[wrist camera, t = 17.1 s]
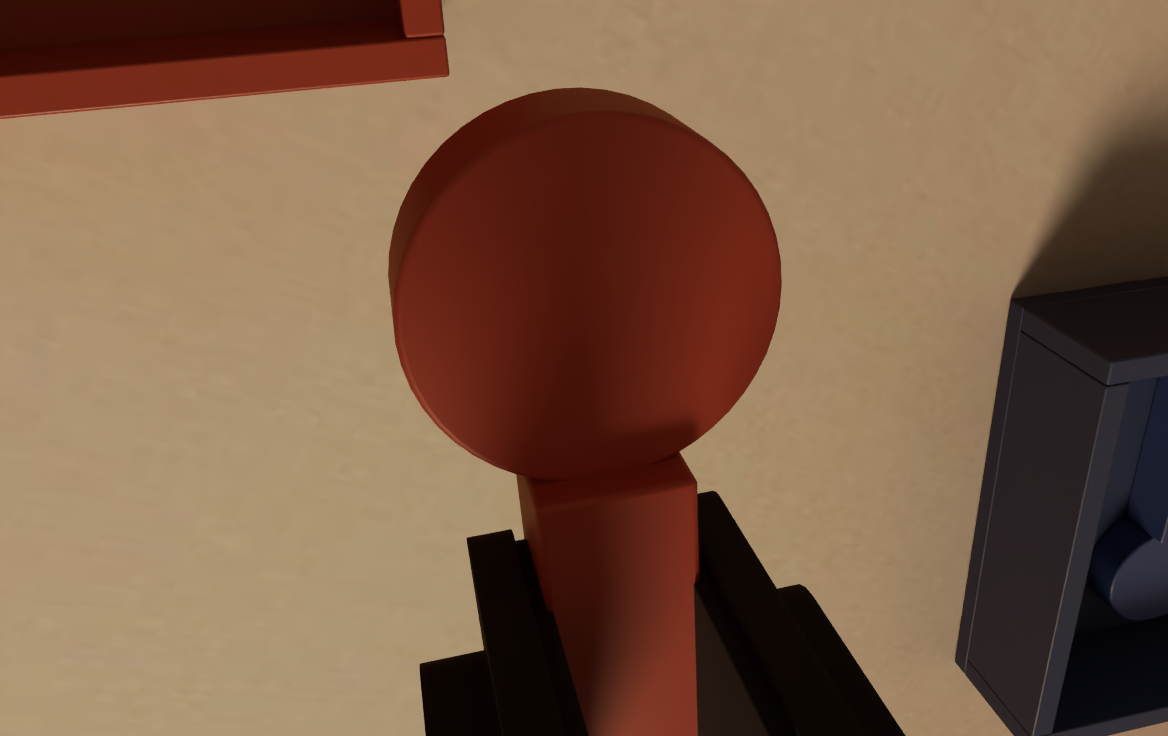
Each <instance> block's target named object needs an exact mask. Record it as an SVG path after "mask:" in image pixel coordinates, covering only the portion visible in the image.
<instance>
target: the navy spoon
mask: <svg viewBox="0 0 1168 736" xmlns="http://www.w3.org/2000/svg"><path fill="white" fill-rule="evenodd" d="M1126 516H1127V518H1125V519H1123V520H1121V521H1120V522H1119V523H1117V524H1116V525H1114V526H1113V527H1112V528H1111V529H1110V530H1109V531H1108V532H1107V533H1106V534H1105V535H1104V536H1103V537H1102V538H1101V539H1100V540H1099V542H1098V543H1097V545H1096V546H1095V548H1094V550H1093V552H1092V557H1091V561H1090V566H1089V570H1088V575H1087V580H1088V583H1089V585H1090V587H1091V589H1092V590H1093V591H1094V593H1095V594H1096V595H1098V596H1099V597H1100V598H1101V599H1102V600H1103V601H1104V602H1105V603H1106V604H1107V605H1108V606H1109V607H1110V608H1111V609H1113V610H1114V611H1115V612H1116V613H1117V614H1118V615H1120V616H1121V617H1124V618H1126V619H1129V620H1135V621H1143V620H1150V619H1153V618H1157V617H1160V616H1162V615H1164V614H1166V613H1168V375H1166V376H1160V377H1159V378H1158V382H1157V386H1156V391H1155V395H1154V399H1153V403H1152V407H1151V411H1150V415H1149V419H1148V424H1147V428H1146V432H1145V436H1144V440H1143V444H1142V448H1141V452H1140V457H1139V461H1138V465H1137V469H1136V473H1135V477H1134V481H1133V486H1132V490H1131V494H1130V498H1129V502H1128V506H1127V510H1126Z"/></svg>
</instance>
